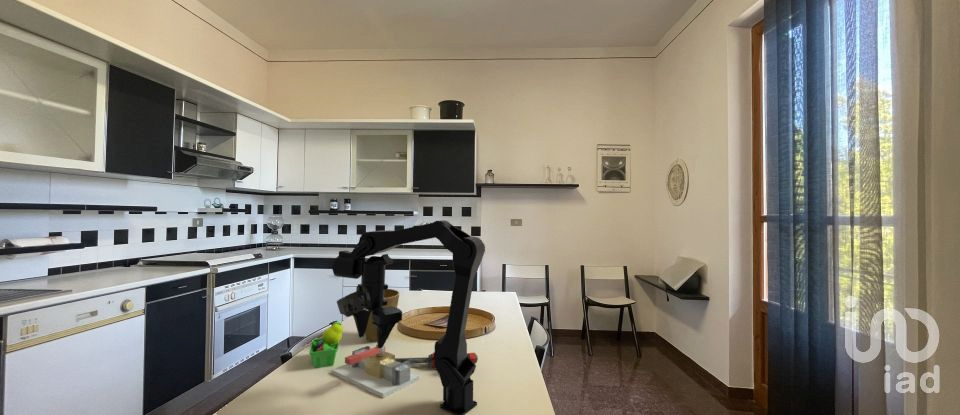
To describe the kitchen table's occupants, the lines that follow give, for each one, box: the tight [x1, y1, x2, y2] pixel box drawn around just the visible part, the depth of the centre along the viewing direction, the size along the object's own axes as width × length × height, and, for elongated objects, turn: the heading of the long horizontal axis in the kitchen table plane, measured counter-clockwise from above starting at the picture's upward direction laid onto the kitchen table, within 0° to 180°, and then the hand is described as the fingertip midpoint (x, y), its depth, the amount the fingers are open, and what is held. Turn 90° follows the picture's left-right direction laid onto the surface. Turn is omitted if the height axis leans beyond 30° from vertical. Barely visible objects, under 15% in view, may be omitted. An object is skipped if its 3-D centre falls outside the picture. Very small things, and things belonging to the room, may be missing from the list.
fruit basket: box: [308, 321, 344, 369], centre depth 109 cm, size 11×9×11 cm
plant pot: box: [364, 288, 400, 343], centre depth 128 cm, size 15×15×16 cm
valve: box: [395, 352, 479, 369], centre depth 108 cm, size 6×26×15 cm
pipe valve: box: [351, 345, 411, 385], centre depth 99 cm, size 20×5×5 cm, turn 54°
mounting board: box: [331, 363, 420, 399], centre depth 99 cm, size 22×12×1 cm, turn 54°
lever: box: [344, 343, 386, 365], centre depth 96 cm, size 11×2×2 cm, turn 144°
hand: (370, 342), depth 92 cm, fingers open, 9 cm apart
